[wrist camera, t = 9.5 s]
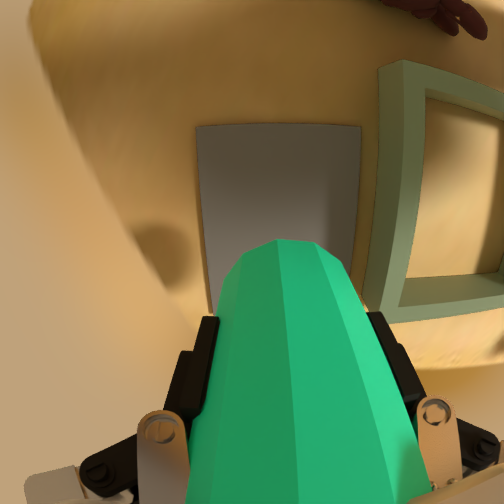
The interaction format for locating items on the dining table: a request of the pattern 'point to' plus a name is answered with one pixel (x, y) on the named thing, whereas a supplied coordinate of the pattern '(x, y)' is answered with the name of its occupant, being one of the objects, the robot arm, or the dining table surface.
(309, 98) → the dining table surface
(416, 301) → the box
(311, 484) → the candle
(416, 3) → the icecream
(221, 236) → the rubber mat
